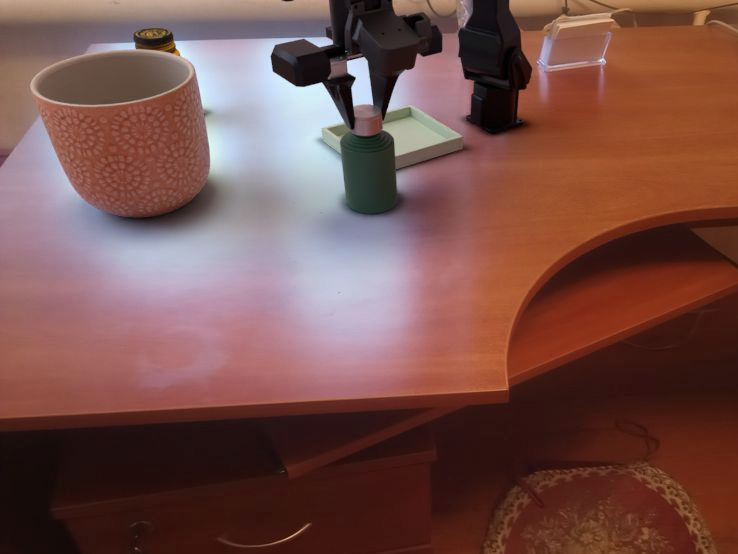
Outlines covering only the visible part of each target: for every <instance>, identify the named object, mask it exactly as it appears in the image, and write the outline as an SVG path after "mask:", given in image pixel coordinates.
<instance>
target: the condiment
mask: <svg viewBox="0 0 738 554" xmlns="http://www.w3.org/2000/svg"><path fill="white" fill-rule="evenodd" d="M132 39H133V42H134V49H143V50H156V51H163V52H168V53H172V54H176V55H178V56H181V53H180V51H179V49H178V48H177V45H176V43H175V38H174V34H173V32H172V31H171V30H170V29H169V28H165V27H146V28H143V29H139V30H137V31H135V32H134V33H133V37H132ZM203 112H204V114H206V111H205V110H203Z"/></svg>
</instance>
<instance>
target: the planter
mask: <svg viewBox="0 0 738 554" xmlns="http://www.w3.org/2000/svg"><path fill="white" fill-rule="evenodd" d="M199 85H200V84H199V79H198V76H197V72H196V68H195V66H194V64H193V63H192V62H191V61H189V60H188V59H187V58H185V57H183V56H182V55H180V56H178V55H176V54H172V53H168V52H163V51H156V50H143V49H136V48H133V49H132V48H131V49H128V48H127V49H113V50H104V51H103V50H102V51H96V52H90V53H86V54H82V55H77V56H73V57H70V58H67V59H63V60H61V61H58V62H55V63H54V64H51V65H50V66H47V67H45V68H43V69H42V70H40V71H39V72H38V73H37V74H36V75H35V76H34V77H33V78H32V80H31V81H30V88H29V89H30V92H31V94H32V98H33V100H34V103H35V106H36V108H37V111H38V113H39V116H40V118H41V120H42V123H43V125H44V128H45V131H46V133H47V135H48V137H49V140H50V143H51V145H52V147H53V150H54V152H55V154H56V157H57V159H58V162H59V163H60V166H61V168H62V171H63V173H64V174H65V176H66V178H67V180H68V182H69V183H70V184H71V186H72V188H73V190H74V191H75V192H76V193H77V194H78V195H79V197H80V198H81V199H82V200H84V201H85V202H86V203H88V204H89V205H91V206H92V207H94V208H96V209H99V210H100V211H102V212H105V213H107V214H111V215H114V216H119V217H124V218H133V219H136V218H137V219H141V218H149V217H150V218H152V217H157V216H161V215H165V214H169V213H171V212H173V211H176V210H178V209H181V208H182V207H183V206H186V205H187V204H189V202H190V201H192V200H193V199H194V198H195V197H196V196H197V195H198V194H199V193H200V192H201V191H202V189H203V188H204V187H205V185H206V183H207V180H208V178H209V175H210V170H211V151H210V143H209V135H208V130H207V123H206V117H205V113H204V112H203V111H204V108H203V107H204V106H203V102H202V95H201V91H200V86H199Z"/></svg>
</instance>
